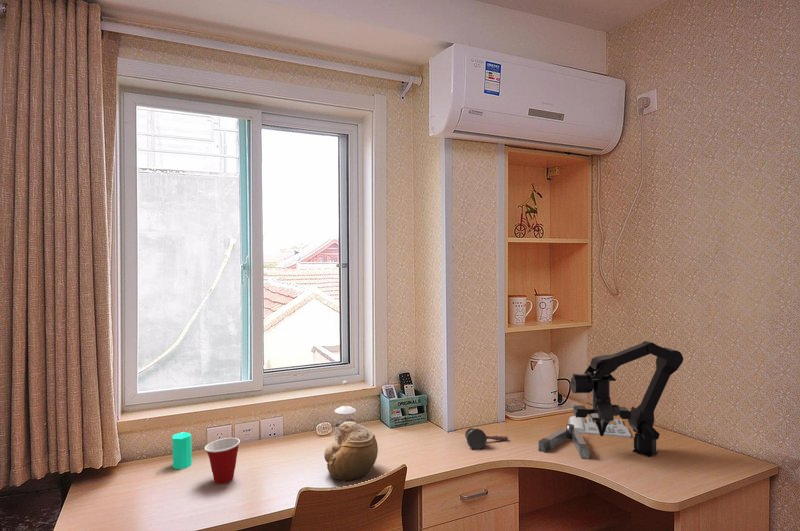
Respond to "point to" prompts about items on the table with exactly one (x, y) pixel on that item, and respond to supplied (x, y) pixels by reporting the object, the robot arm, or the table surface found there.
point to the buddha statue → (351, 452)
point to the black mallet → (480, 438)
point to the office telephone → (592, 428)
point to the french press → (343, 411)
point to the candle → (182, 450)
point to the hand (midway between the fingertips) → (601, 435)
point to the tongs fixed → (556, 438)
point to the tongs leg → (580, 444)
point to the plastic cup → (223, 458)
